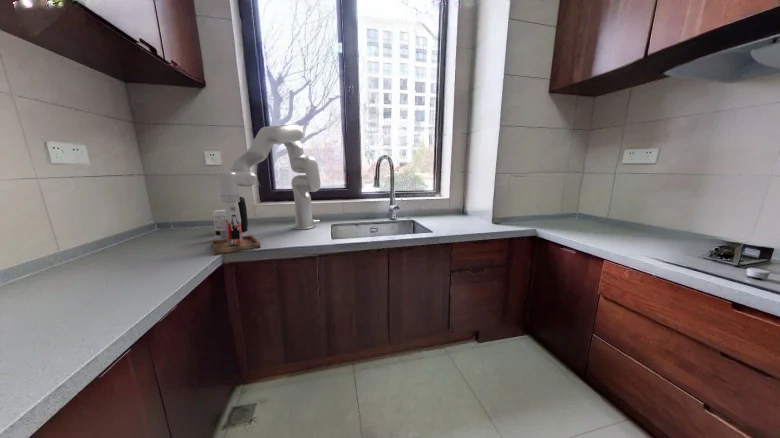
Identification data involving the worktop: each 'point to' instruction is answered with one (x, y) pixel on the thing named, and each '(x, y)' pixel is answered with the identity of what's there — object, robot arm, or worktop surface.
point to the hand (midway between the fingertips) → (234, 237)
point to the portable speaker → (243, 214)
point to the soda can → (228, 233)
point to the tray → (224, 247)
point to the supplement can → (219, 224)
